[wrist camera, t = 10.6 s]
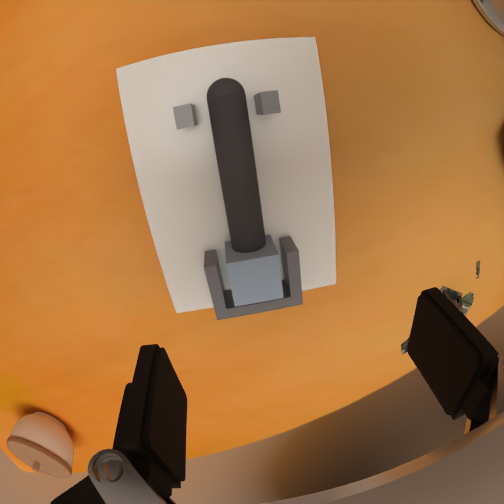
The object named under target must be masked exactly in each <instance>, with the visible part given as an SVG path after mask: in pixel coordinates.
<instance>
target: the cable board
mask: <svg viewBox="0 0 504 504" xmlns="http://www.w3.org/2000/svg"><path fill="white" fill-rule="evenodd" d="M116 73H117V79H118V86H119V92H120V98H121V104H122V109H123V115H124V120H125V125H126V130H127V135H128V140H129V145H130V150H131V154H132V159H133V163H134V168H135V172H136V176H137V180H138V185H139V189H140V193H141V197H142V201H143V204H144V208H145V212H146V216H147V219H148V223H149V227H150V230H151V234H152V237H153V241H154V244H155V248H156V251H157V254H158V258H159V261H160V264H161V267H162V271H163V274H164V277H165V280H166V283H167V286H168V289H169V292H170V295H171V298H172V301H173V304H174V307H175V310H176V313H181V312H188V311H194V310H200V309H206V308H213V307H214V310H215V313H216V317H217V320H220V319H226V318H232V317H238V316H244V315H249V314H255V313H260V312H265V311H271V310H276V309H281V308H286V307H291V306H296V305H301V304H303V300H302V291H304V290H309V289H314V288H319V287H323V286H328V285H333V284H336V244H335V216H334V196H333V180H332V167H331V154H330V143H329V133H328V124H327V115H326V106H325V98H324V90H323V83H322V76H321V69H320V63H319V56H318V50H317V44H316V39H315V37H292V38H273V39H260V40H250V41H241V42H233V43H225V44H218V45H212V46H206V47H201V48H195V49H190V50H185V51H180V52H176V53H171V54H167V55H163V56H159V57H155V58H151V59H147V60H144V61H140V62H137V63H133V64H130V65H126V66H123V67H120V68H117V69H116ZM221 78H231V79H235V80H236V81H238V82H239V83H240V84H241V85H242V86H243V88H244V91H245V95H246V102H247V108H248V115H249V122H250V129H251V136H252V143H253V150H254V157H255V164H256V172H257V179H258V186H259V194H260V201H261V208H262V216H263V224H264V231H265V235H269V234H270V235H271V237H272V240H273V242H274V244H275V246H276V249H277V251H278V253H279V259H280V269H281V278H282V288H283V298H280V299H275V300H270V301H264V302H259V303H253V304H247V305H242V306H236V307H235V305H234V300H233V295H232V290H231V285H230V280H229V276H228V271H227V266H226V256H225V243H224V242H228V241H231V238H230V233H229V227H228V222H227V216H226V211H225V205H224V199H223V193H222V188H221V182H220V176H219V170H218V164H217V158H216V153H215V147H214V141H213V134H212V128H211V122H210V116H209V110H208V104H207V91H208V89H209V87H210V85H211V84H212V83H213V82H215V81H216V80H218V79H221Z"/></svg>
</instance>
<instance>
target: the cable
mask: <svg viewBox="0 0 504 504" xmlns="http://www.w3.org/2000/svg"><path fill="white" fill-rule="evenodd" d="M207 104H208V110H209V116H210V122H211V128H212V134H213V141H214V147H215V153H216V158H217V164H218V170H219V176H220V182H221V188H222V193H223V199H224V205H225V211H226V216H227V222H228V227H229V233H230V238H231V241H228V242H224V243H225V256H226V266H227V271H228V276H229V280H230V285H231V290H232V295H233V300H234V305H235V307H236V306H242V305H247V304H253V303H259V302H264V301H270V300H275V299H280V298H283V288H282V278H281V269H280V259H279V253H278V251H277V249H276V246H275V244H274V242H273V240H272V237H271V235H270V234H269V235H265V231H264V224H263V216H262V208H261V201H260V194H259V186H258V179H257V172H256V164H255V157H254V150H253V143H252V136H251V129H250V122H249V115H248V108H247V102H246V95H245V91H244V88H243V86H242V85H241V84H240V83H239V82H238V81H236V80H235V79H231V78H221V79H218V80H216V81H215V82H213V83H212V84H211V85H210V87H209V89H208V91H207Z"/></svg>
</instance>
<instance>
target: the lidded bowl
mask: <svg viewBox="0 0 504 504" xmlns="http://www.w3.org/2000/svg"><path fill="white" fill-rule="evenodd" d="M6 444H7V447H8V448H9V450H10V451H11V452H12V453H13V454H14V455H15V456H16V457H17V458H19V459H20V460H21V461H23V462H24V463H26V464H27V465H29V466H31V467H33V468H32V469H33V470H34V471H36V472H39V471H41V472H43V473H45V474H48V475H51V476H54V477H58V478H69V477H70V476H71V474H72V465H73V459H74V448H73V443H72V440H71V438H70V436H69V434H68V432H67V429H66V427H65V426H64V425H63V424H62V423H61V422H60V421H59V420H57V419H56V418H54V417H53V416H51V415H49V414H46V413H43V412H34V413H33V414H28V415H25V416H23V417H22V418H20V419H19V420H18V421H17V423H16V424H15V426H14V427H13V429H12V431H11V434H10V436H9V438H8V439H7V442H6Z"/></svg>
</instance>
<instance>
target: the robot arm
mask: <svg viewBox="0 0 504 504" xmlns="http://www.w3.org/2000/svg"><path fill="white" fill-rule="evenodd" d="M472 1H473V2H474V4H475V6H476V7H477V9H478V10H479V12H480V13H481V14H482V16H483V17H484V18H485V19H486V21H487V22H488V23H489V24H490V25H491V26H492V27H493V28H494V29H495V30H497V31H498V32H499V33H501V34H502V35H504V0H472ZM407 351H408V354H409V356H410V357H411V359H412V360H413V362H414V363H415V365H416V366H417V368H418V369H419V371H420V372H421V374H422V376H423V377H424V379H425V380H426V382H427V383H428V385H429V387H430V388H431V390H432V391H433V393H434V395H435V396H436V398H437V399H438V401H439V403H440V404H441V406H442V408H443V409H444V411H445V412H446V414H447V415H451V417H452V419H453V420H455V419H457V418H459V417H461V416H462V415H464V414H465V415H466V416H467V423H466V429H465V434H464V435H463V436H462V437H460V438H458V439H456V440H454V441H452V442H451V443H449V444H447V445H445V446H443V447H441V448H439V449H437V450H435V451H433V452H431V453H429V454H427V455H424V456H422V457H420V458H418V459H415V460H413V461H411V462H408V463H406V464H404V465H402V466H399V467H397V468H394V469H392V470H389V471H386V472H383V473H381V474H378V475H375V476H372V477H369V478H366V479H364V480H361V481H357V482H354V483H351V484H348V485H344V486H341V487H337V488H334V489H330V490H326V491H322V492H318V493H314V494H310V495H305V496H301V497H295V498H290V499H285V500H279V501H273V502H267V503H260V504H504V355H503V356H502V357H501V358H500V359H499V358H498V357H497V355H498V352H497V351H496V350H495V349H494V347H493V346H492V345H491V344H490V343H489V342H488V341H487V340H486V338H485V337H484V336H483V335H482V334H481V333H480V332H479V331H478V330H477V328H476V327H475V326H474V325H473V324H472V323H471V322H470V321H469V320H468V319H467V318H466V317H465V316H464V314H463V313H462V312H461V311H460V310H459V309H458V308H457V307H456V306H455V305H454V304H453V303H452V302H451V301H450V300H449V299H448V298H447V297H446V296H445V295H444V294H443V293H442V292H441V291H440V290H439V289H438V288H436V287H434V288H430V289H427V290H424V291H422V292H421V295H420V296H419V297H418V300H417V305H416V310H415V315H414V320H413V324H412V328H411V333H410V337H409V341H408V345H407ZM186 422H187V397H186V394H185V391H184V389H183V387H182V385H181V383H180V381H179V379H178V377H177V375H176V373H175V371H174V368H173V366H172V364H171V362H170V360H169V357H168V355H167V353H166V351H165V349H164V348H160V347H159V345H158V344H153V345H143V346H141V348H140V351H139V355H138V360H137V364H136V368H135V372H134V377H133V381H132V383H128V384H127V385H126V387H125V391H124V395H123V399H122V404H121V409H120V413H119V418H118V423H117V428H116V433H115V438H114V444H113V449H105V450H102V451H99V452H97V453H96V454H95V455H94V456H93V457H92V458H91V460H90V461H89V465H88V474H89V475H88V476H87V477H86V478H84V479H83V480H82V481H80V482H79V483H77V484H76V485H74V486H73V487H71V488H70V489H69V490H67V491H66V492H64V493H63V494H61V495H60V496H58V497H57V498H55V499H54V500H53V501H52V502H51V504H176V503H175V502H174V501H173V500H172V499H171V498H170V496H171V494H172V488H181V481H184V480H185V464H186V462H185V461H186Z"/></svg>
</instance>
